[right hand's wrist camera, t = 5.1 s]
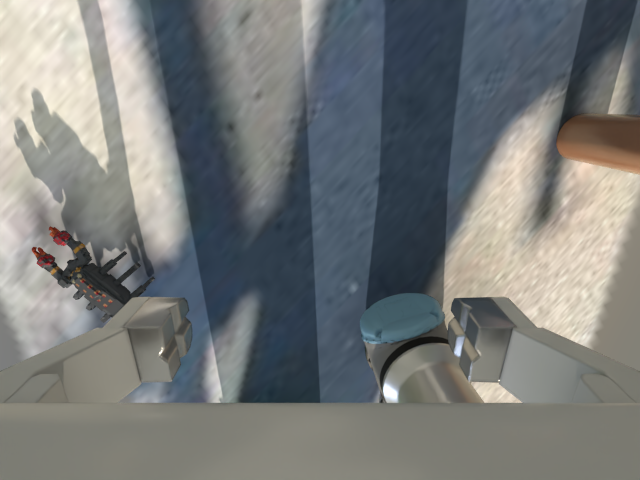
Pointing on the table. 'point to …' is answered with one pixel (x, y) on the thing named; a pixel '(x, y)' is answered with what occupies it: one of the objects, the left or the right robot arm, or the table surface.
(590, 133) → the bottle
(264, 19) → the table surface
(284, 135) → the table surface
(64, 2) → the table surface
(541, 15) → the table surface
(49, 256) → the toy
